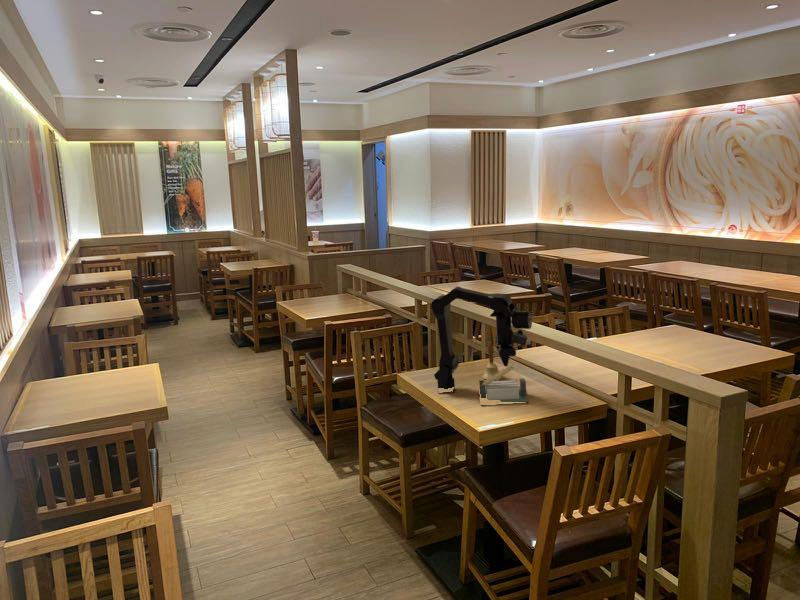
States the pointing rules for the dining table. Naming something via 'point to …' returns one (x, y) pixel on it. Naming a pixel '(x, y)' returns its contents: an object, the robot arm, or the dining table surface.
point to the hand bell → (491, 364)
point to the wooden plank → (498, 375)
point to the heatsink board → (504, 391)
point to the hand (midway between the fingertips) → (505, 365)
